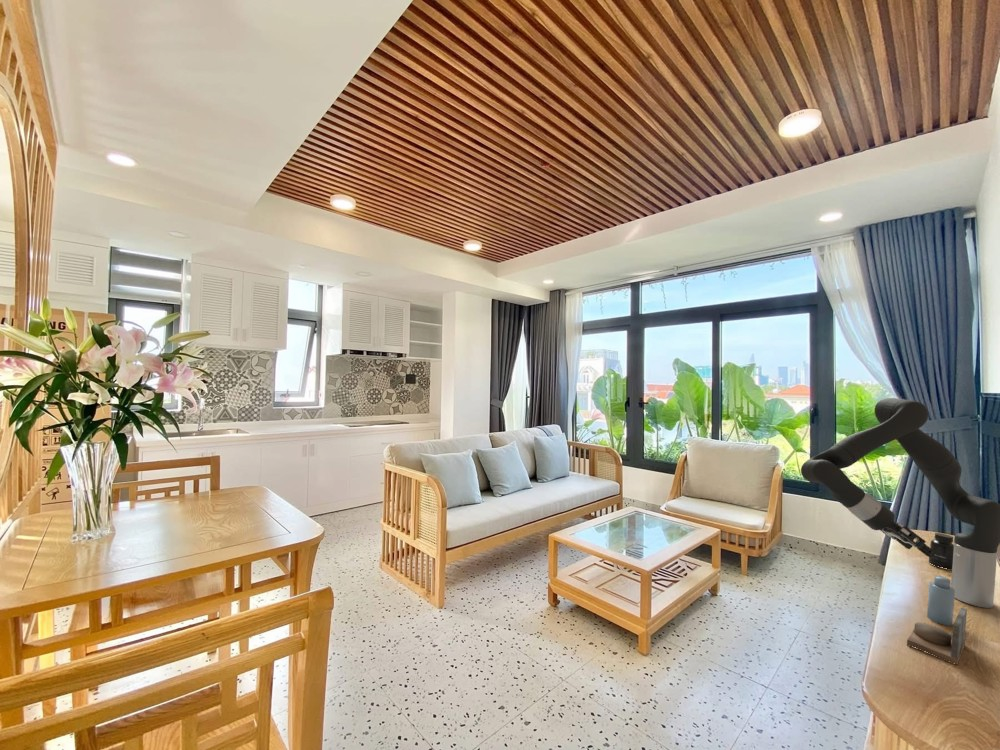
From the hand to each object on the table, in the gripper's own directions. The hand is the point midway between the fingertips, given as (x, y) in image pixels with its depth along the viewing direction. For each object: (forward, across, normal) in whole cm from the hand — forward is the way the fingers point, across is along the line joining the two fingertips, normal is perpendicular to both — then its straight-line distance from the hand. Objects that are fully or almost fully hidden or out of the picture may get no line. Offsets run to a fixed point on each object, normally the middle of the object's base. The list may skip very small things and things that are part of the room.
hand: (921, 550), depth 124 cm
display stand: (+10, -11, +19) cm, 24 cm away
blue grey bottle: (+17, +4, +12) cm, 21 cm away
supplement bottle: (+37, +50, -11) cm, 63 cm away
